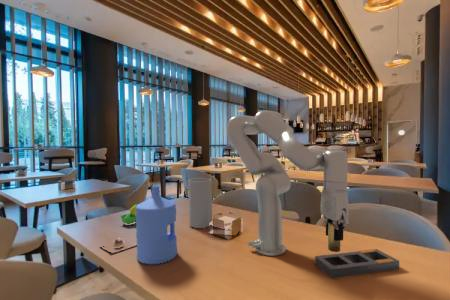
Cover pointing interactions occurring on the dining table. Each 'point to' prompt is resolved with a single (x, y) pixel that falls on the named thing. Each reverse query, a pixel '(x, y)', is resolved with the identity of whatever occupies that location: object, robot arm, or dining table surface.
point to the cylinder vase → (200, 202)
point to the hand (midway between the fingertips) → (334, 237)
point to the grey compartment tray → (351, 268)
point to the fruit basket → (130, 216)
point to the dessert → (118, 242)
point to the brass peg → (332, 238)
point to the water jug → (156, 229)
